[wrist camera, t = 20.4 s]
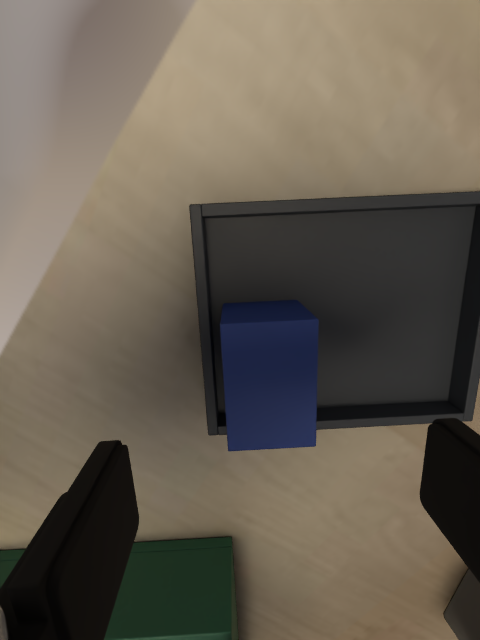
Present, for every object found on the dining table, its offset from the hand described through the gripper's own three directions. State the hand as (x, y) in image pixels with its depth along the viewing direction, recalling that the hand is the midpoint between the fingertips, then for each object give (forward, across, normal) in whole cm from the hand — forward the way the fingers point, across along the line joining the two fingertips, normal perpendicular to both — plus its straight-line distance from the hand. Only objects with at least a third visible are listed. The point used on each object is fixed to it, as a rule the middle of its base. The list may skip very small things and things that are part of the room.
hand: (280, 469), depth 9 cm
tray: (+10, -5, -2) cm, 11 cm away
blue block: (+10, 0, 0) cm, 10 cm away
